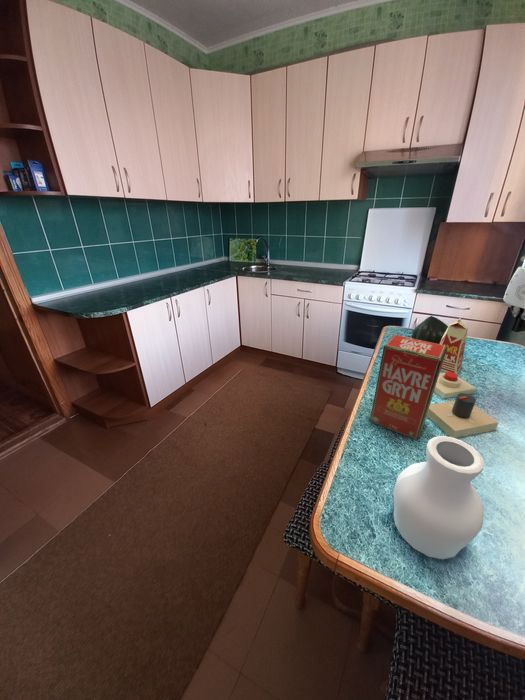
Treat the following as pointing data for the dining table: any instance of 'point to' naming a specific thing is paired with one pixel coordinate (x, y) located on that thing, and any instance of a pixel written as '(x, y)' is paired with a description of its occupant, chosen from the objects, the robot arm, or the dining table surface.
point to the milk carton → (454, 346)
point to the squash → (430, 330)
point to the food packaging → (406, 384)
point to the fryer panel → (460, 420)
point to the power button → (450, 376)
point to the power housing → (452, 387)
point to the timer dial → (463, 405)
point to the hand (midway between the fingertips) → (517, 330)
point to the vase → (440, 499)
